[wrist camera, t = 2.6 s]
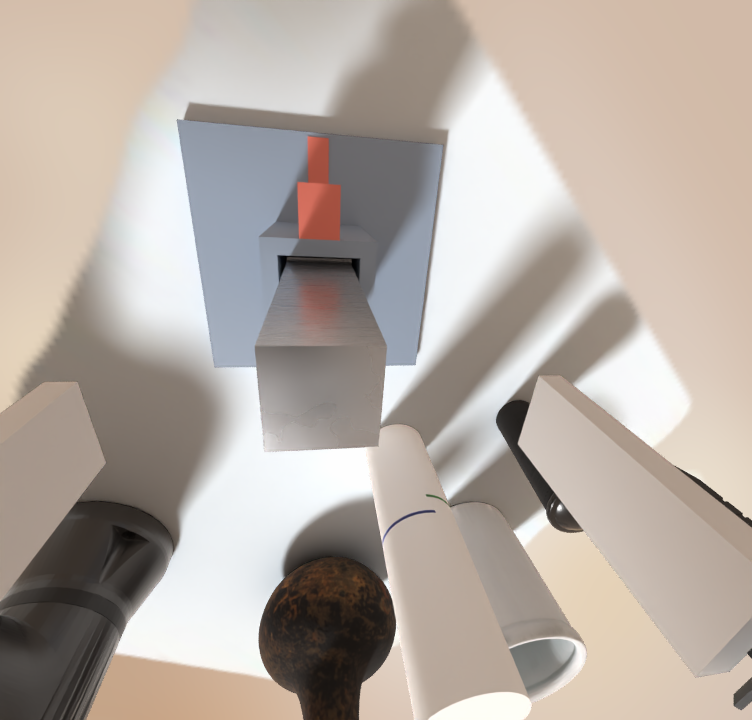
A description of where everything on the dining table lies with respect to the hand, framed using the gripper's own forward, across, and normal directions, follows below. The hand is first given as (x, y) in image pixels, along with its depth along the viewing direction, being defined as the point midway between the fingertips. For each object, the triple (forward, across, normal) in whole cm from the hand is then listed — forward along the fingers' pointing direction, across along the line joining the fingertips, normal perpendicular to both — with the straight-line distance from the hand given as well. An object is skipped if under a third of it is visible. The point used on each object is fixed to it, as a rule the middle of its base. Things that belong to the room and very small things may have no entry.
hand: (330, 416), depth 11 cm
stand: (+24, 0, 0) cm, 24 cm away
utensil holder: (+25, +21, -39) cm, 51 cm away
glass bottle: (+24, +1, -46) cm, 52 cm away
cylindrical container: (+24, +9, -22) cm, 34 cm away
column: (+23, 0, 0) cm, 23 cm away
